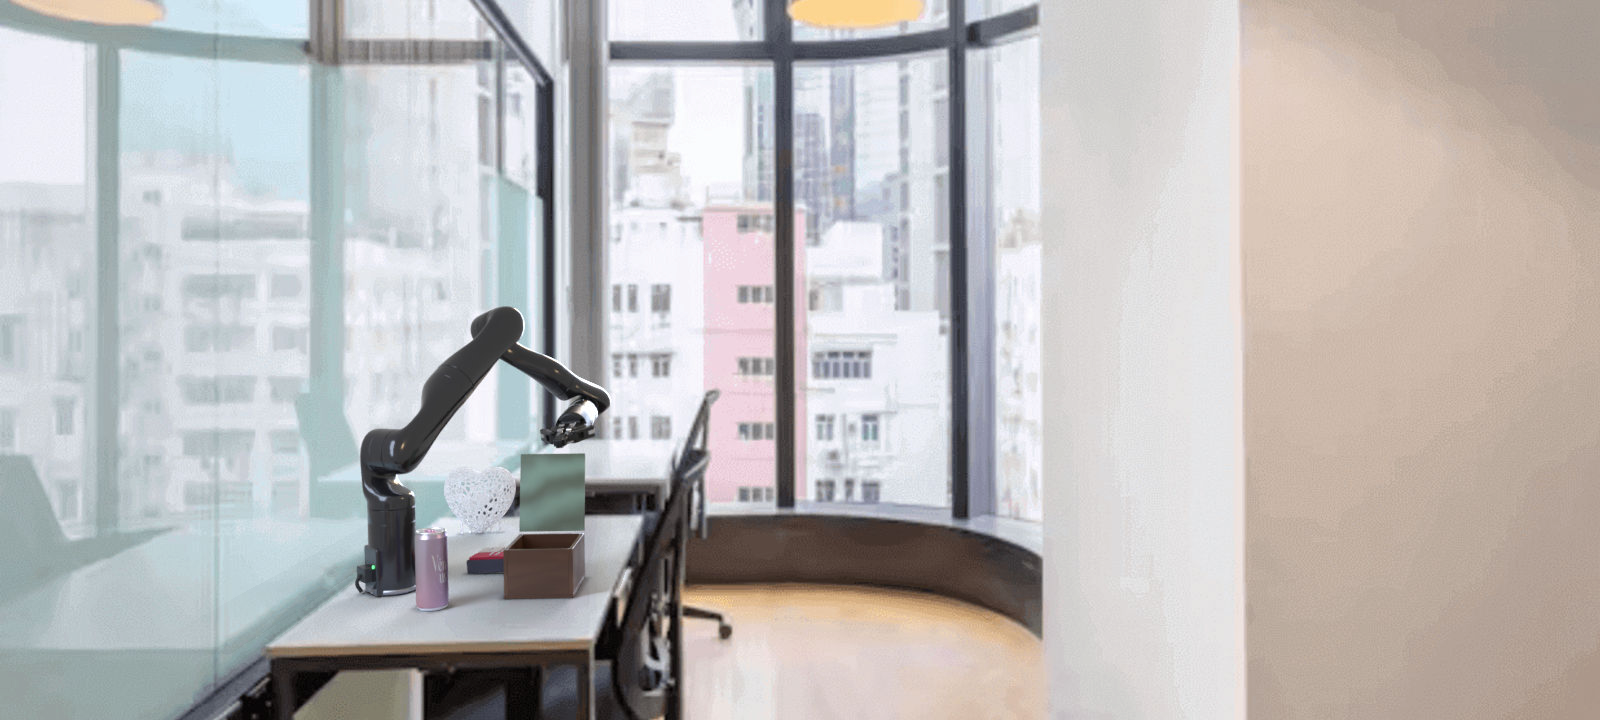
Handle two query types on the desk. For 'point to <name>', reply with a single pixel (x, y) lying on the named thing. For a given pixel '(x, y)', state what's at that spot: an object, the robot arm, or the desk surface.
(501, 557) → the calculator
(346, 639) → the desk surface
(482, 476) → the decorative heart
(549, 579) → the chest
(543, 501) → the lid
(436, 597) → the beverage can
